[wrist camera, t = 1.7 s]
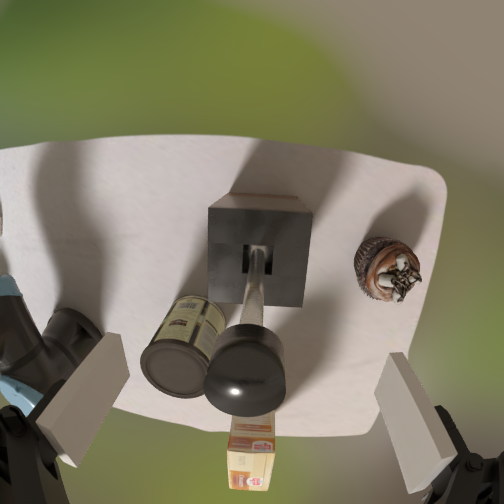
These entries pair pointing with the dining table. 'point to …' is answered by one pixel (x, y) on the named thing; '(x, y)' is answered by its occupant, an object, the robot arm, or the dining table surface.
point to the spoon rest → (0, 226)
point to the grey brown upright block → (263, 234)
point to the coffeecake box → (251, 452)
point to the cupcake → (386, 269)
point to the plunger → (248, 351)
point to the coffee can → (183, 347)
